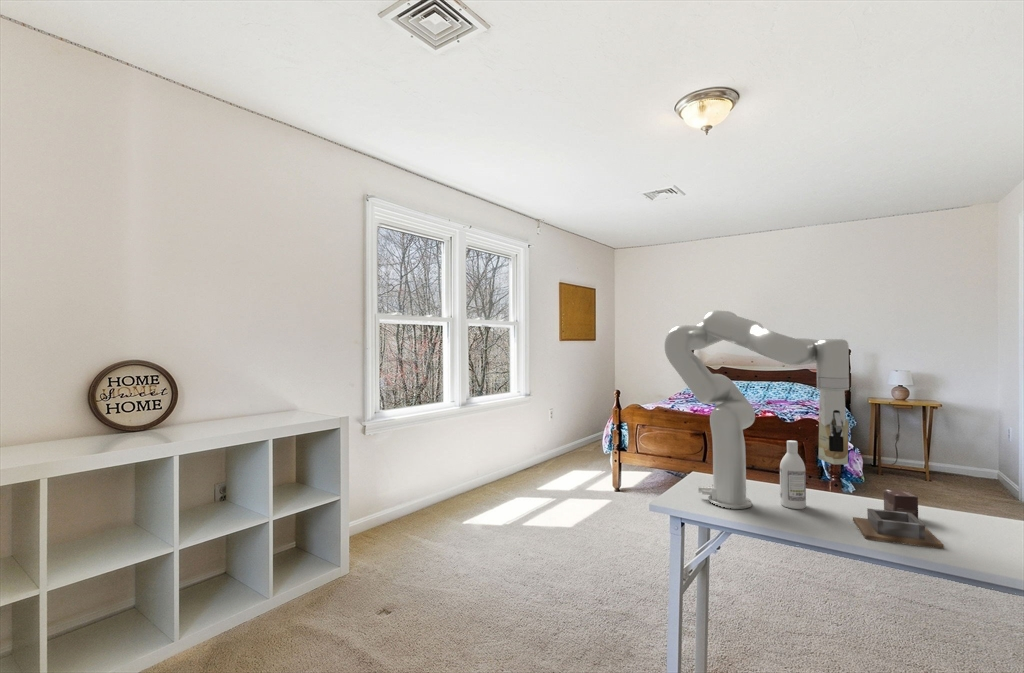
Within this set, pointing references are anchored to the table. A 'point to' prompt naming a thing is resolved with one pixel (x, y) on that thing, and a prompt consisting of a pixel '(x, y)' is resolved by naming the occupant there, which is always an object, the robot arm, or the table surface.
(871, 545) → the table surface
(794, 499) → the bath foam
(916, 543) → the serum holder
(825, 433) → the skincare box
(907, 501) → the box
